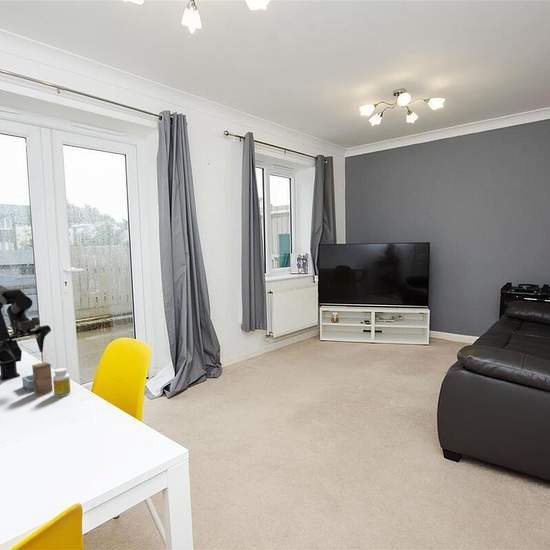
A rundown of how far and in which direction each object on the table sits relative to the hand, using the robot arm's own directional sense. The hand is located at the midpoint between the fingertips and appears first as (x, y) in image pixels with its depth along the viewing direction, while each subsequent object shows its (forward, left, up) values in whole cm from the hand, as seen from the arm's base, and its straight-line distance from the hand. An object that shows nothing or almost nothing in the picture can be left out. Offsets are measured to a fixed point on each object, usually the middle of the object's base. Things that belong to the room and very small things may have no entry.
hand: (29, 355), depth 148 cm
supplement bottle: (+15, +6, -14) cm, 21 cm away
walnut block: (+7, +2, -14) cm, 16 cm away
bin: (-2, +2, -14) cm, 14 cm away
